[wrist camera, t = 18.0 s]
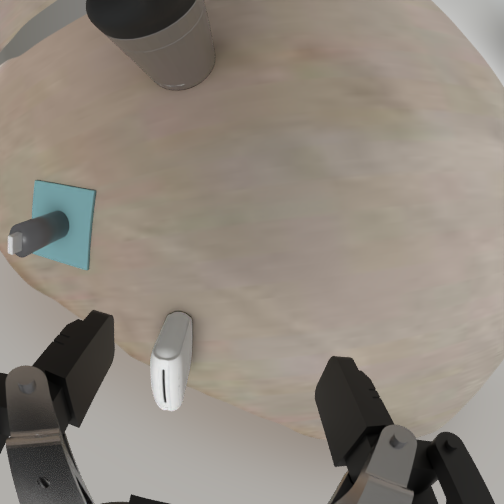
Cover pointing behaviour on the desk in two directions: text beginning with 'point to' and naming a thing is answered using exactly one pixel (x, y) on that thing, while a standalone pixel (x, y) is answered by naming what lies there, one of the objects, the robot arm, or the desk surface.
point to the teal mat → (78, 213)
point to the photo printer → (171, 361)
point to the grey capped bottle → (37, 233)
